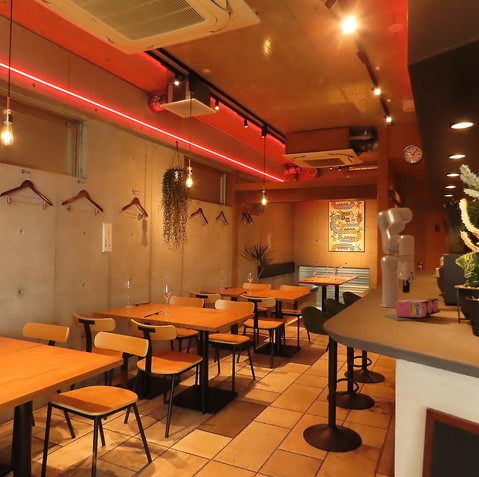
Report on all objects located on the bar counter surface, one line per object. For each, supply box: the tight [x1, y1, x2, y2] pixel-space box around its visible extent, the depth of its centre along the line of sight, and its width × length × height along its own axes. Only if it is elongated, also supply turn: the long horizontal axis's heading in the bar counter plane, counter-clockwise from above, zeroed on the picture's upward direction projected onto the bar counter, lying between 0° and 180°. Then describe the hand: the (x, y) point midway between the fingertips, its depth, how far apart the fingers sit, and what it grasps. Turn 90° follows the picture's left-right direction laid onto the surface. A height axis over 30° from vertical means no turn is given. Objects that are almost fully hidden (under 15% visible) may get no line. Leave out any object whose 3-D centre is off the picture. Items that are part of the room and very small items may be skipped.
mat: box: [383, 314, 443, 322], centre depth 214 cm, size 14×24×1 cm, turn 98°
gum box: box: [395, 298, 441, 317], centre depth 215 cm, size 24×8×14 cm
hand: (406, 292), depth 221 cm, fingers closed
